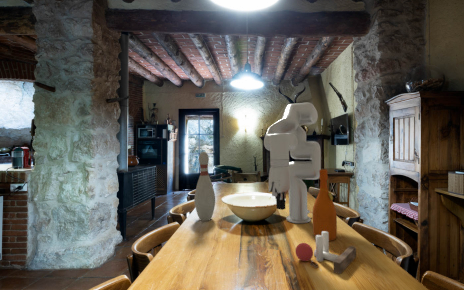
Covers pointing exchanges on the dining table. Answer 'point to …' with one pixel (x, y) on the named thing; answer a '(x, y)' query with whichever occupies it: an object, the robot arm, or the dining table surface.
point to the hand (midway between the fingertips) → (280, 208)
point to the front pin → (328, 256)
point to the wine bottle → (324, 210)
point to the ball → (304, 252)
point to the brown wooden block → (344, 259)
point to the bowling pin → (204, 191)
